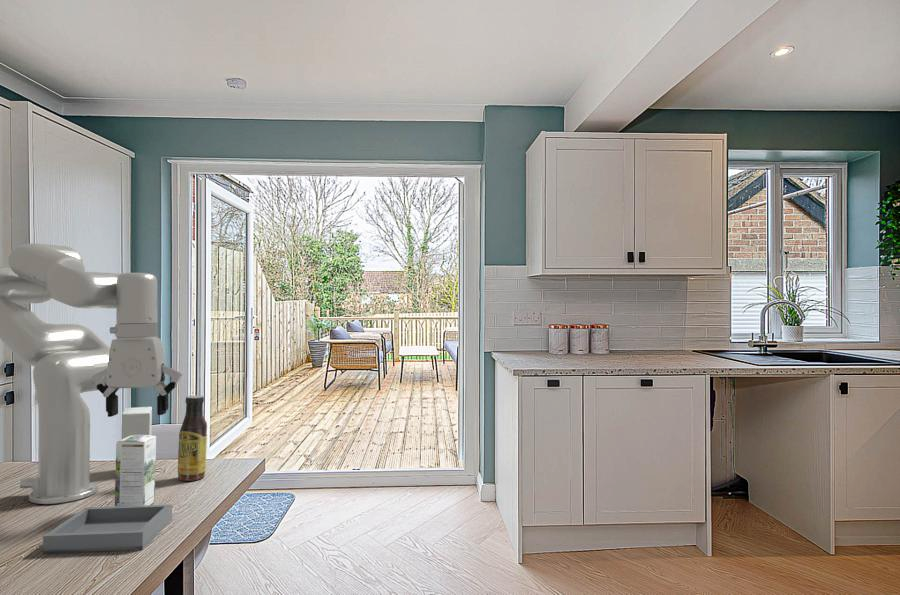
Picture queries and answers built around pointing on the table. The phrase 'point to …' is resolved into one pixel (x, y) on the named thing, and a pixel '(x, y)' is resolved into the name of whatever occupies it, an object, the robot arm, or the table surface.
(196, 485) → the table surface
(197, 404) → the sauce bottle
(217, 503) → the table surface
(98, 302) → the robot arm
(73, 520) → the tray
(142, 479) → the syrup box
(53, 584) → the table surface
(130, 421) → the skincare box
